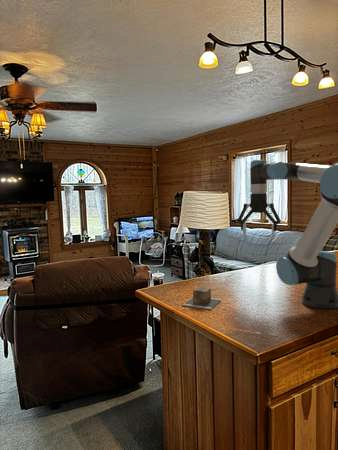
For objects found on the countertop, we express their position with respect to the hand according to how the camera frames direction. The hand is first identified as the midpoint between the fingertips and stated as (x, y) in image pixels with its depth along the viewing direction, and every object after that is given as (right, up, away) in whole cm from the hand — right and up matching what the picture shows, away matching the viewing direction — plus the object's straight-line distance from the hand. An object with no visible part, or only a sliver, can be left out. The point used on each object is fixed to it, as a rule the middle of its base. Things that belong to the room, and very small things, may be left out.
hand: (258, 237), depth 161 cm
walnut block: (-28, -28, -14) cm, 42 cm away
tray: (-28, -29, -14) cm, 43 cm away
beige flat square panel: (-19, -29, -18) cm, 40 cm away
